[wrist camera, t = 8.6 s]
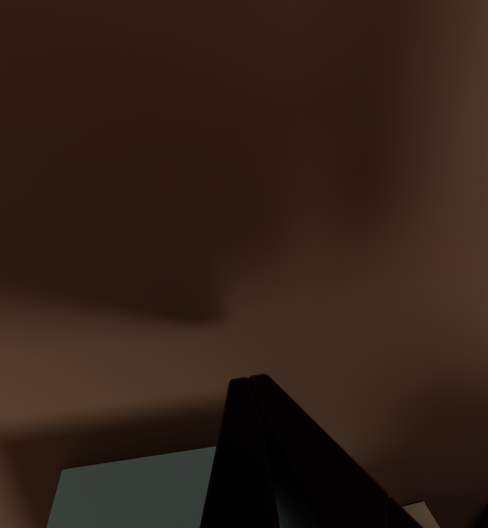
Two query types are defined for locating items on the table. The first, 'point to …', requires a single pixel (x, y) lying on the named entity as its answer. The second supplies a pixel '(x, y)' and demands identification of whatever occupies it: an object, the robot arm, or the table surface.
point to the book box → (135, 492)
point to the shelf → (421, 515)
